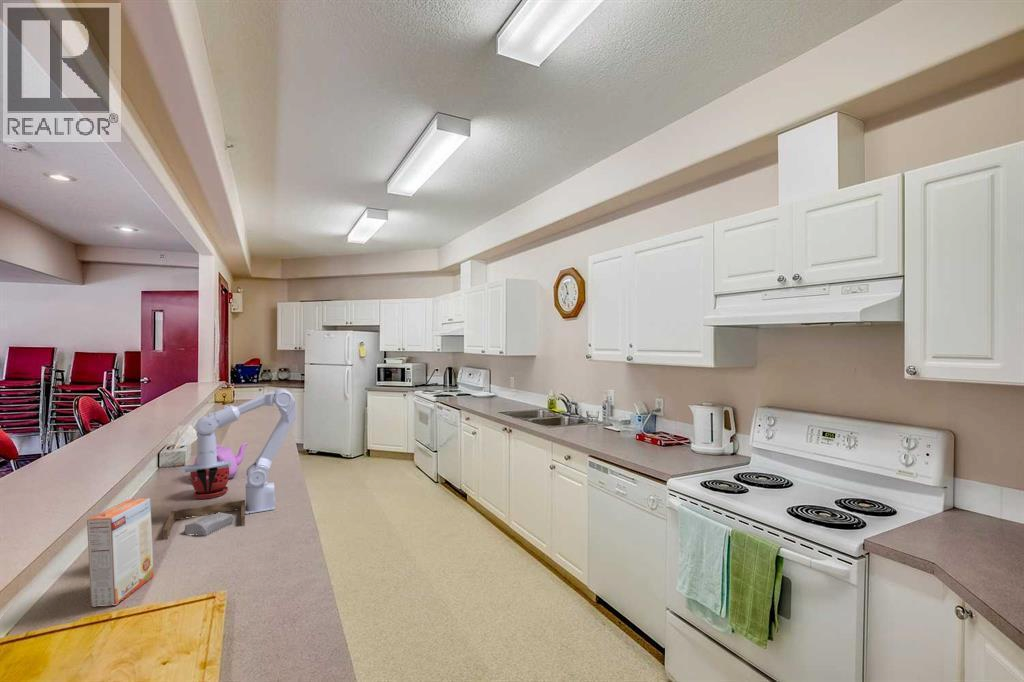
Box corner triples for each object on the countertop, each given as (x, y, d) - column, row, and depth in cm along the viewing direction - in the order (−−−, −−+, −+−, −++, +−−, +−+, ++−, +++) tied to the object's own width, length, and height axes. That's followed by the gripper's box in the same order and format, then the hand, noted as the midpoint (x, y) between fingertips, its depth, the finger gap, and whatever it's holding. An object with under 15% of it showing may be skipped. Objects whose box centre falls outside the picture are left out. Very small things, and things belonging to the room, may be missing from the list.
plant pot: (236, 489, 200) (235, 460, 200) (218, 500, 187) (217, 469, 187) (203, 490, 200) (203, 461, 200) (183, 501, 187) (182, 470, 187)
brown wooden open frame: (245, 507, 178) (244, 499, 178) (244, 525, 161) (244, 516, 161) (171, 519, 168) (171, 511, 168) (163, 539, 151) (163, 530, 151)
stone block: (181, 541, 155) (207, 536, 153) (179, 525, 155) (205, 521, 153) (211, 527, 166) (236, 523, 164) (209, 513, 167) (234, 509, 165)
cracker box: (130, 578, 127) (127, 498, 126) (154, 577, 127) (152, 497, 127) (88, 608, 113) (85, 518, 113) (115, 607, 113) (113, 517, 113)
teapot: (200, 489, 202) (199, 452, 201) (189, 479, 217) (188, 445, 217) (260, 477, 218) (259, 443, 217) (245, 468, 233) (244, 436, 232)
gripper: (231, 446, 176) (232, 484, 176) (183, 451, 169) (184, 491, 169) (230, 450, 169) (231, 489, 170) (180, 456, 163) (181, 496, 163)
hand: (207, 490), depth 169 cm, fingers closed
